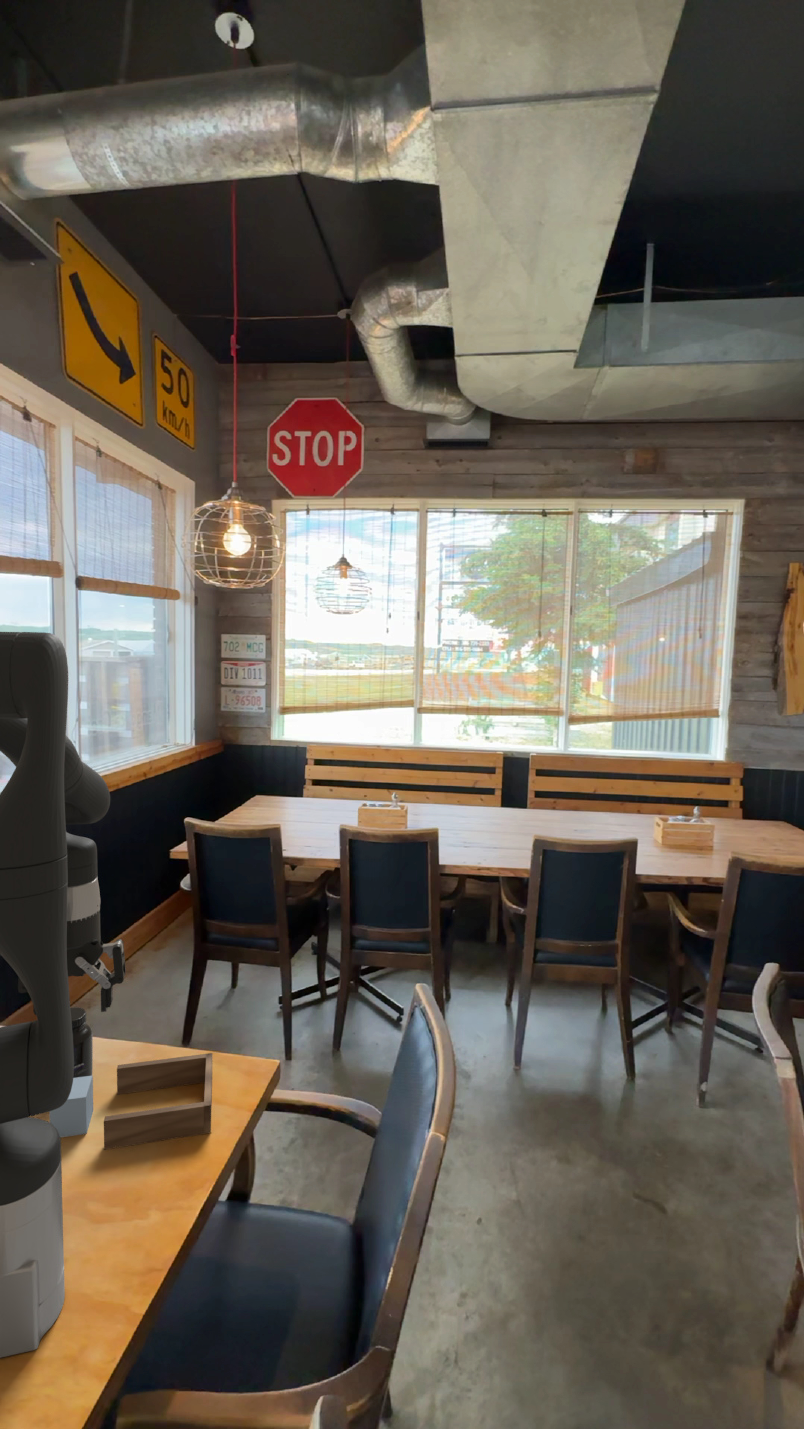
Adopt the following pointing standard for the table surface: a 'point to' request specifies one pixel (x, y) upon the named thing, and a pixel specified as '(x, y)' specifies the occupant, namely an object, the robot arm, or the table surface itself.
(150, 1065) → the brown three-sided frame
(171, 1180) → the table surface
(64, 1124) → the slate block
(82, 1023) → the supplement bottle
